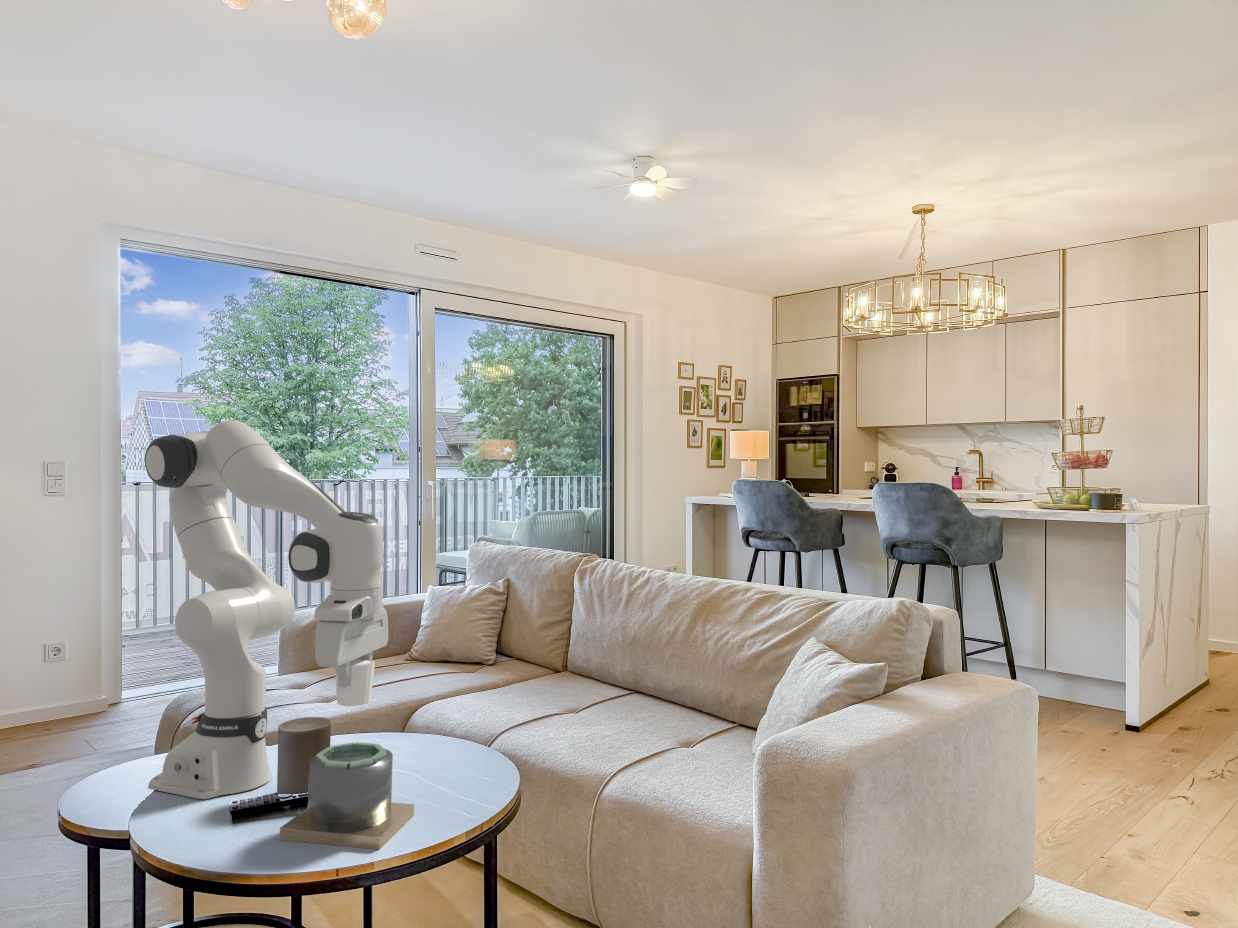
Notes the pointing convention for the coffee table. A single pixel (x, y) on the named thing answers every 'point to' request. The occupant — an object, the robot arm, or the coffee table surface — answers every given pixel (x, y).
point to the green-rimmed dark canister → (349, 799)
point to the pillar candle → (299, 751)
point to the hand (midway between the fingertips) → (353, 682)
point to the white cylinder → (357, 683)
